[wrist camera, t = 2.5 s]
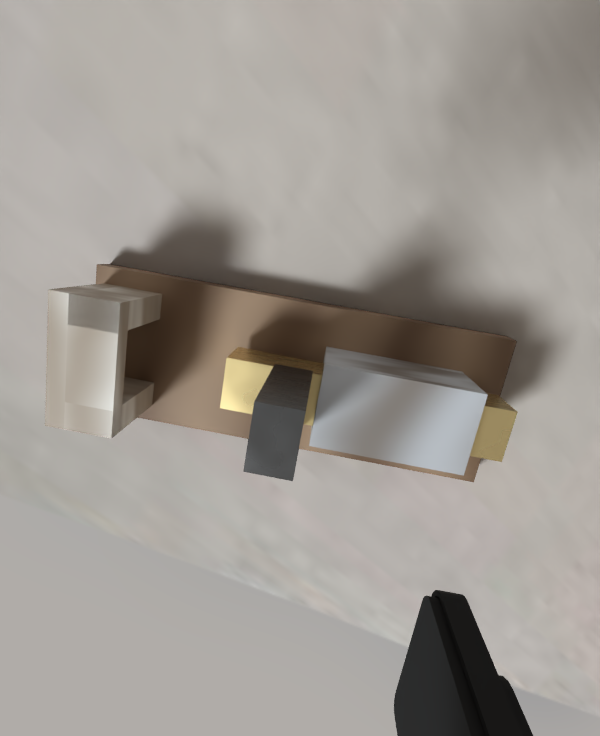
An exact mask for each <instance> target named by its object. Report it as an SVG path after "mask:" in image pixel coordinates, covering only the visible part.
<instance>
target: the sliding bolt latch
mask: <svg viewBox="0 0 600 736" xmlns="http://www.w3.org/2000/svg"><path fill="white" fill-rule="evenodd" d="M516 342H517V341H516V340H513V339H511V338H509V337H507V336H502V335H496V334H491V333H485V332H480V331H474V330H469V329H463V328H458V327H452V326H447V325H441V324H436V323H430V322H425V321H419V320H414V319H408V318H403V317H397V316H392V315H386V314H381V313H375V312H370V311H364V310H359V309H353V308H348V307H342V306H337V305H331V304H326V303H320V302H315V301H309V300H304V299H298V298H293V297H287V296H282V295H276V294H271V293H265V292H260V291H254V290H249V289H243V288H238V287H232V286H227V285H221V284H216V283H210V282H205V281H199V280H194V279H188V278H183V277H177V276H172V275H167V274H161V273H156V272H150V271H145V270H139V269H134V268H128V267H123V266H117V265H112V264H98V265H97V272H96V284H93V285H85V286H76V287H67V288H58V289H49V290H48V326H47V367H46V409H45V426H49V427H54V428H60V429H65V430H70V431H75V432H80V433H85V434H90V435H96V436H101V437H106V438H113V437H114V436H115V435H116V434H117V433H119V432H120V431H121V430H122V429H124V428H125V427H126V426H127V425H129V424H130V423H131V422H132V421H133V420H135V419H136V418H137V417H138V418H143V419H148V420H153V421H159V422H164V423H169V424H174V425H179V426H185V427H190V428H195V429H200V430H205V431H211V432H216V433H221V434H226V435H231V436H237V437H242V438H247V439H249V433H250V426H251V420H252V414H248V413H243V412H237V411H232V410H227V409H222V408H220V403H221V396H222V388H223V381H224V373H225V366H226V358H227V357H228V356H229V355H230V354H231V353H232V352H233V351H234V350H235V349H236V348H237V347H242V348H247V349H253V350H258V351H263V352H269V353H274V354H279V355H285V356H290V357H296V358H301V359H306V360H312V361H317V362H322V363H324V369H323V375H322V380H321V386H320V391H319V396H318V401H317V406H316V411H315V417H314V422H313V426H311V425H306V424H303V429H302V434H301V440H300V445H299V449H304V450H309V451H315V452H320V453H325V454H330V455H335V456H341V457H346V458H351V459H356V460H361V461H366V462H372V463H377V464H382V465H387V466H392V467H398V468H403V469H408V470H413V471H418V472H424V473H429V474H434V475H439V476H444V477H450V478H455V479H460V480H465V481H470V482H474V479H475V476H476V473H477V470H478V466H479V463H480V460H481V458H479V457H473V456H470V453H471V450H472V446H473V443H474V440H475V436H476V433H477V429H478V426H479V423H480V419H481V416H482V413H483V409H484V406H485V403H486V399H487V396H488V394H487V393H489V394H494V395H498V396H499V397H500V394H501V391H502V388H503V385H504V381H505V378H506V375H507V372H508V368H509V365H510V362H511V358H512V355H513V352H514V349H515V345H516Z"/></svg>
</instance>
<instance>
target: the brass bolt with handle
mask: <svg viewBox="0 0 600 736" xmlns="http://www.w3.org/2000/svg"><path fill="white" fill-rule="evenodd" d="M323 369H324V363H322V362H317V361H312V360H306V359H301V358H296V357H290V356H285V355H279V354H274V353H269V352H263V351H258V350H253V349H247V348H242V347H237V348H236V349H235V350H234V351H233V352H232V353H231V354H230V355H229V356H228V357H227V358H226V366H225V373H224V381H223V388H222V396H221V403H220V408H222V409H227V410H232V411H237V412H243V413H248V414H252V420H251V426H250V433H249V439H248V446H247V452H246V459H245V465H244V472H249V473H254V474H259V475H264V476H269V477H275V478H280V479H285V480H290V481H293V477H294V472H295V466H296V461H297V456H298V450H299V445H300V440H301V434H302V429H303V424H306V425H311V426H313V422H314V417H315V411H316V406H317V401H318V396H319V391H320V386H321V380H322V375H323ZM487 394H488V396H487V399H486V403H485V406H484V409H483V413H482V416H481V419H480V423H479V426H478V429H477V433H476V436H475V440H474V443H473V446H472V450H471V453H470V456H473V457H479V458H484V459H489V460H494V461H500V462H502V459H503V456H504V453H505V450H506V447H507V443H508V440H509V437H510V434H511V431H512V428H513V425H514V422H515V418H516V415H517V411H516V410H515V409H513V408H512V407H511V406H510V405H509V404H507V403H506V402H505V401H504V400H503V399H502V398H500V397H499V396H498V395H494V394H489V393H487Z"/></svg>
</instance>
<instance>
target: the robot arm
mask: <svg viewBox="0 0 600 736" xmlns="http://www.w3.org/2000/svg"><path fill="white" fill-rule="evenodd" d="M394 714H395V721H396V728H397V735H398V736H533V734H532V732H531V730H530V728H529V725H528V723H527V721H526V718H525V716H524V714H523V711H522V709H521V707H520V705H519V702H518V700H517V698H516V695H515V693H514V691H513V689H512V687H511V685H510V683H509V682H508V681H507V680H506V679H505V678H504V677H503V676H499V675H498V674H497V671H496V669H495V666H494V664H493V662H492V659H491V657H490V654H489V652H488V650H487V647H486V645H485V642H484V640H483V638H482V635H481V633H480V630H479V628H478V626H477V623H476V621H475V618H474V616H473V614H472V611H471V609H470V606H469V604H468V602H467V600H466V598H465V596H463V595H461V594H456V593H450V592H445V591H440V590H435V591H434V592H433V594H432V596H431V597H430V596H425V597H424V598H423V601H422V604H421V608H420V611H419V614H418V618H417V621H416V625H415V628H414V631H413V635H412V638H411V642H410V645H409V649H408V652H407V655H406V659H405V662H404V666H403V669H402V673H401V676H400V680H399V683H398V686H397V690H396V693H395V700H394Z"/></svg>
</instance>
